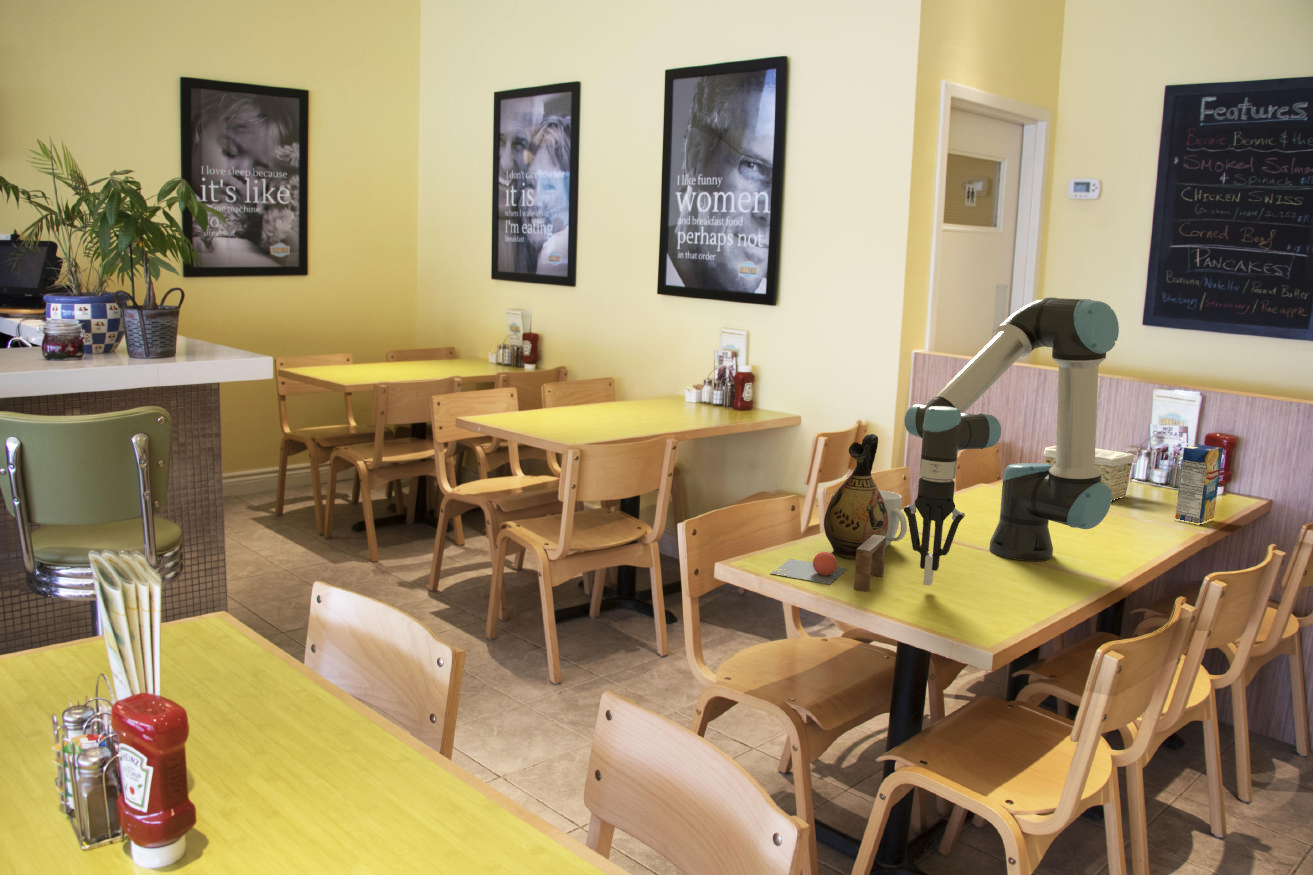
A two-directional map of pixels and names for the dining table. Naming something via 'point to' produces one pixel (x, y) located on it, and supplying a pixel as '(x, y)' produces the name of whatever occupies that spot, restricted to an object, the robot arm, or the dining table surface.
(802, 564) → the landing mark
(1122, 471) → the storage basket
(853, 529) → the ceramic jug
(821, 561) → the ball
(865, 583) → the bridge
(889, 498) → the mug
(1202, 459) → the blue cardboard box
